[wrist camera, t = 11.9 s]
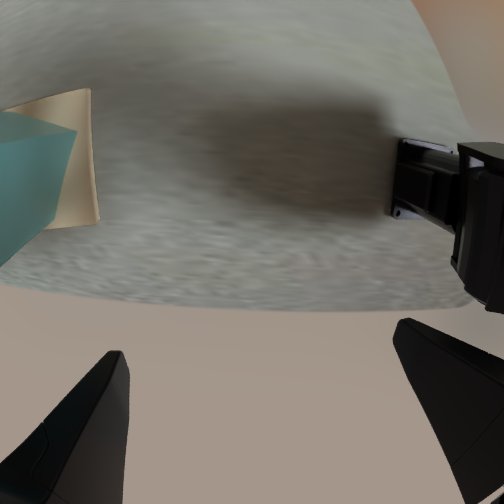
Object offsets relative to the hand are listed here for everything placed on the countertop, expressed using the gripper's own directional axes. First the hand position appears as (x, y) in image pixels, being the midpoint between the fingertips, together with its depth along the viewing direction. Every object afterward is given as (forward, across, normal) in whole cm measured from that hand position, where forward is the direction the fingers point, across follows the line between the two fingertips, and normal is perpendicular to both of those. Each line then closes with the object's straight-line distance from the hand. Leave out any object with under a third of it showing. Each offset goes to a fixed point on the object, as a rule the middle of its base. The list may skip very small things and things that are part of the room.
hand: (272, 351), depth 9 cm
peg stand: (+13, +14, -5) cm, 20 cm away
